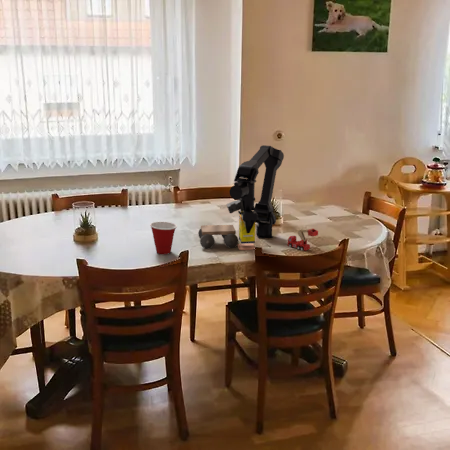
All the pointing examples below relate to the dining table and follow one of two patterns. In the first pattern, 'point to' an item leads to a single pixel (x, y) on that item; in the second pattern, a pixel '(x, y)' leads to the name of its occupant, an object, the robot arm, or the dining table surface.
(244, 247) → the thin pink plate
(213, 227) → the wooden toy car
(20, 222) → the dining table surface
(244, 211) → the robot arm
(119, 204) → the dining table surface
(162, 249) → the plastic cup
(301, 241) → the toy fire truck
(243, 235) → the supplement box
